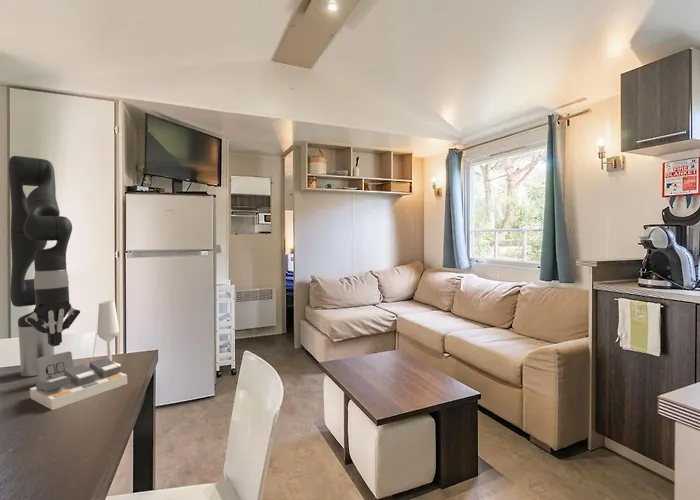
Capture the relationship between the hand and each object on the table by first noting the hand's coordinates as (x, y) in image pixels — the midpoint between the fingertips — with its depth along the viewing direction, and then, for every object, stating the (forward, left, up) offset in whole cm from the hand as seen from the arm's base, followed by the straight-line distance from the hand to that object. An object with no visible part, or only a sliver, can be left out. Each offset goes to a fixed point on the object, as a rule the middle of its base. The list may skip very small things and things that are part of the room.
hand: (55, 345), depth 104 cm
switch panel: (-3, +7, -17) cm, 18 cm away
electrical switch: (-19, +6, -17) cm, 26 cm away
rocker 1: (-3, 0, -12) cm, 12 cm away
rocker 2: (-3, +14, -12) cm, 18 cm away
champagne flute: (-17, +22, -17) cm, 32 cm away
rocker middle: (-3, +7, -12) cm, 14 cm away
